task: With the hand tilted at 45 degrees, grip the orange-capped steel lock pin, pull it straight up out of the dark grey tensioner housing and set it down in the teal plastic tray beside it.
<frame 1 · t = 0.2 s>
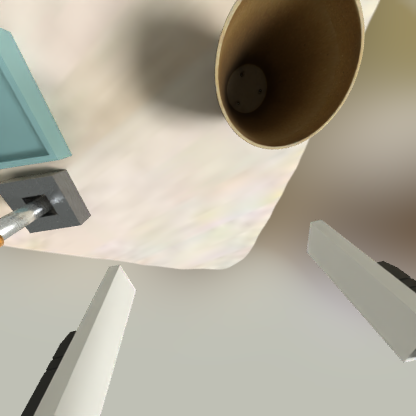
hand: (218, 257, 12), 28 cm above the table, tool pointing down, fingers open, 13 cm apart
plant pot: (245, 92, 31), on the table
lock pin: (25, 215, 31), in the tensioner housing
tensioner housing: (54, 198, 38), on the table
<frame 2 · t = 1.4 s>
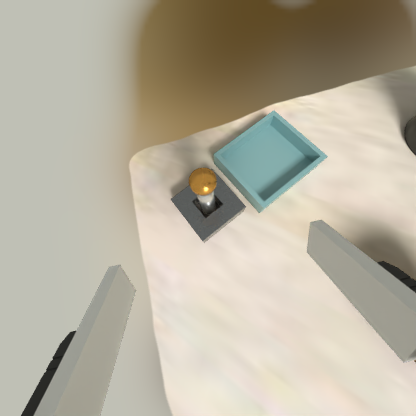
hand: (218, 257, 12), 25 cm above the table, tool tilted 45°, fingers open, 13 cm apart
tray: (264, 164, 41), on the table
lock pin: (206, 197, 32), in the tensioner housing
tensioner housing: (208, 208, 39), on the table
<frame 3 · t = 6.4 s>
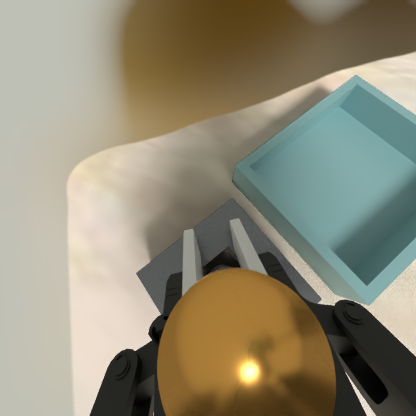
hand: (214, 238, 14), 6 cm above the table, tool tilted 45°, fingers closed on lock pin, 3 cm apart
tray: (334, 185, 20), on the table
lock pin: (226, 294, 11), in the tensioner housing, touching gripper
tensioner housing: (223, 279, 18), on the table
when the fingers open (8 cm above the table, at t = 14.2 s): lock pin drops 1 cm, resting on tray.
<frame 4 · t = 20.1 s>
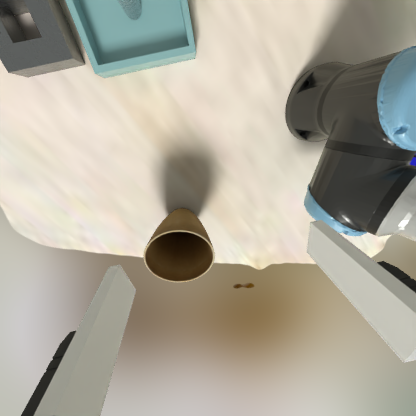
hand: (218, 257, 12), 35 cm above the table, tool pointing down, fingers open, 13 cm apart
tray: (133, 10, 30), on the table
plant pot: (181, 218, 51), on the table
tensioner housing: (36, 31, 30), on the table
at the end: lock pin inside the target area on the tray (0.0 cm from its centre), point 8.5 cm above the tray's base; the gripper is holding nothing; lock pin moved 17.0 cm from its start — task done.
